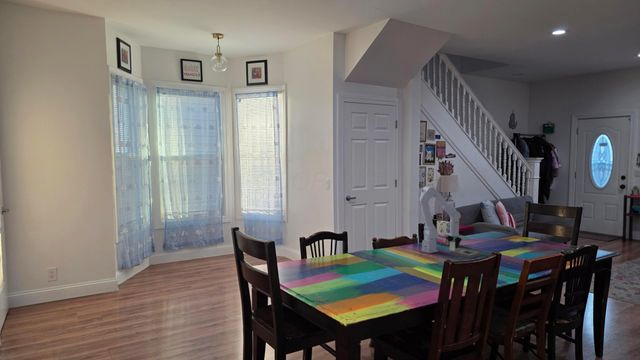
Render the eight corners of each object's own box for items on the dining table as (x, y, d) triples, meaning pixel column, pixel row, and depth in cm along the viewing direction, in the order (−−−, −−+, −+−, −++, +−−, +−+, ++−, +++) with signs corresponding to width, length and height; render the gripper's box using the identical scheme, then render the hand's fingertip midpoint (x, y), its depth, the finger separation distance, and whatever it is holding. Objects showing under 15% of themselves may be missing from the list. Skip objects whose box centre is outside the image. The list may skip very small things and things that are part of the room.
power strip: (469, 258, 262) (469, 254, 261) (450, 254, 273) (450, 250, 272) (480, 255, 269) (480, 251, 269) (461, 251, 280) (461, 247, 280)
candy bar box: (451, 244, 299) (452, 222, 297) (446, 245, 297) (447, 223, 295) (441, 241, 309) (441, 220, 307) (436, 242, 307) (436, 220, 305)
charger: (454, 251, 281) (454, 242, 280) (449, 250, 284) (449, 241, 283) (458, 250, 283) (458, 241, 282) (453, 249, 286) (453, 240, 286)
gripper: (467, 229, 279) (466, 248, 280) (448, 225, 290) (448, 244, 291) (461, 230, 275) (460, 250, 276) (442, 226, 286) (442, 246, 287)
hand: (453, 247), depth 283 cm, fingers closed on charger, 4 cm apart
